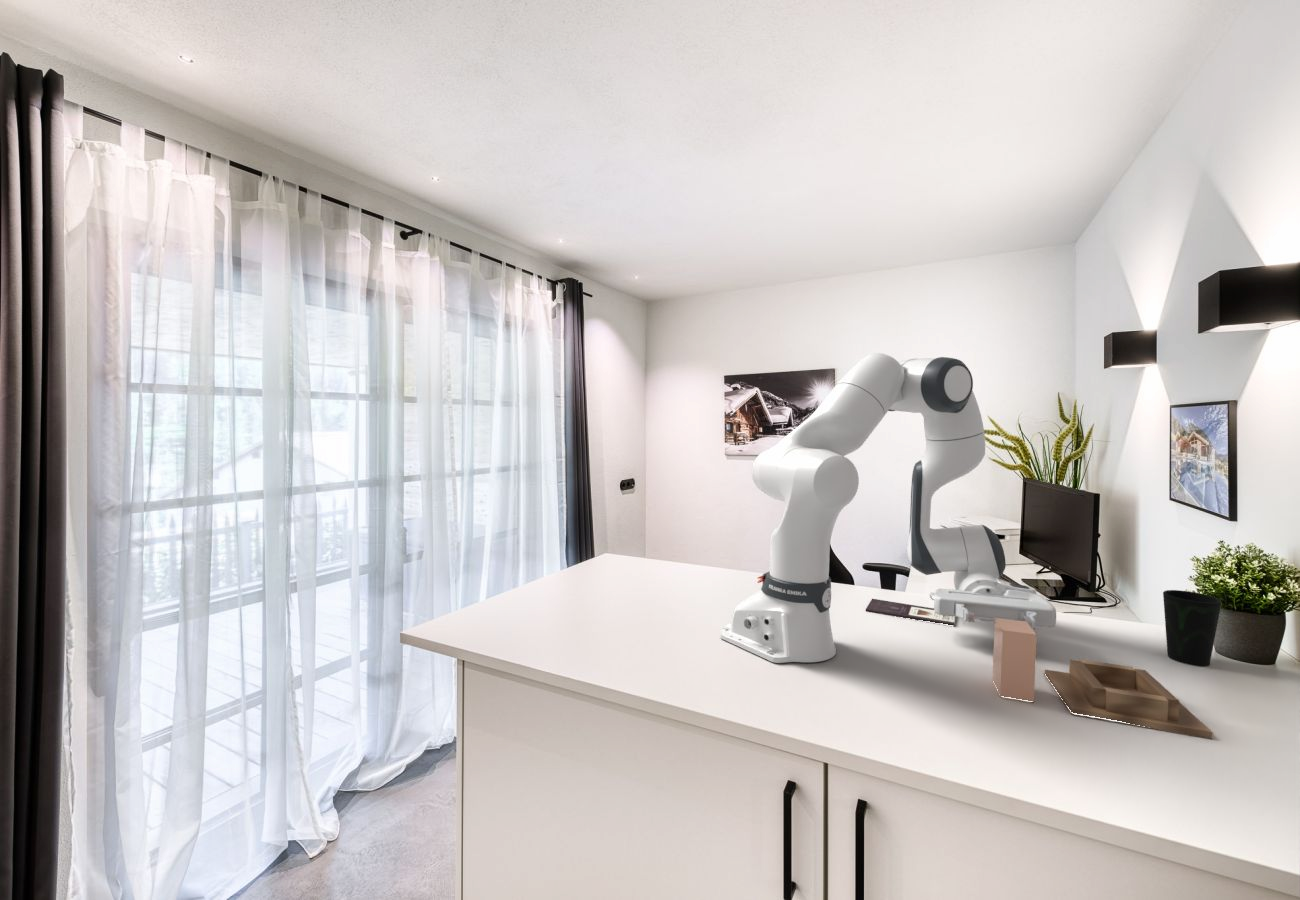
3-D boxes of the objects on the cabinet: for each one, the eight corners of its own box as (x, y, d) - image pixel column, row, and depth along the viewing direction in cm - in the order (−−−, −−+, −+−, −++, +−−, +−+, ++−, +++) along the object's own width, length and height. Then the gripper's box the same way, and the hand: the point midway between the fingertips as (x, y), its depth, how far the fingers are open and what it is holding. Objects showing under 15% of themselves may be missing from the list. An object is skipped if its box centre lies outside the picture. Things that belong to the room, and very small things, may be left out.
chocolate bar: (872, 598, 134) (955, 611, 124) (872, 602, 134) (955, 616, 124) (865, 609, 126) (954, 624, 117) (865, 613, 126) (954, 628, 117)
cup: (1201, 654, 103) (1204, 592, 102) (1228, 671, 96) (1232, 605, 95) (1151, 648, 106) (1154, 588, 105) (1174, 665, 98) (1177, 600, 98)
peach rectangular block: (1000, 697, 86) (1002, 630, 86) (992, 681, 92) (994, 617, 91) (1033, 703, 85) (1036, 634, 84) (1023, 686, 90) (1026, 621, 90)
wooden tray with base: (1071, 714, 81) (1073, 689, 81) (1044, 675, 94) (1045, 652, 94) (1212, 739, 75) (1213, 711, 75) (1162, 692, 88) (1163, 668, 88)
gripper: (929, 577, 116) (936, 597, 103) (1043, 588, 108) (1066, 611, 95) (928, 606, 116) (935, 630, 103) (1042, 619, 108) (1065, 646, 96)
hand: (999, 621), depth 99 cm, fingers open, 8 cm apart
